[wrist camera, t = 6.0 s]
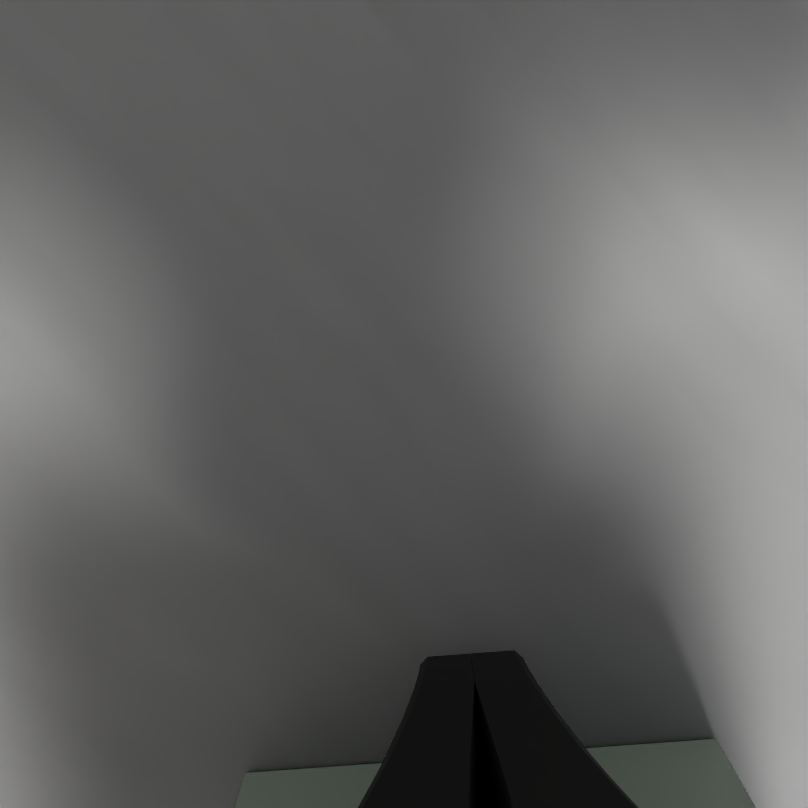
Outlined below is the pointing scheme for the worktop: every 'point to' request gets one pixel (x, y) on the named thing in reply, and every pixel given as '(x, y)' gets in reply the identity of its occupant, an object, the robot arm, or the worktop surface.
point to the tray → (627, 765)
